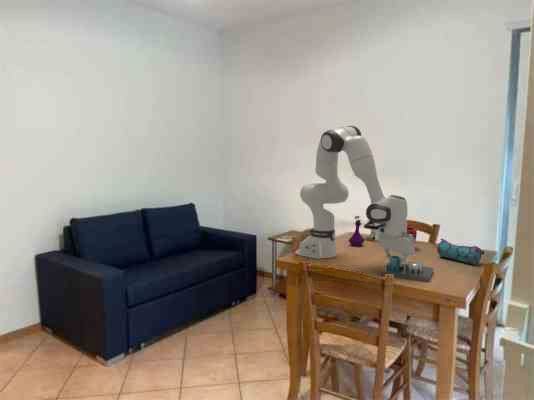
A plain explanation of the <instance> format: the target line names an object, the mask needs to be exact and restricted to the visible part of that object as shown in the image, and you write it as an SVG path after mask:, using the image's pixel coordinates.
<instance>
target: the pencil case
mask: <svg viewBox="0 0 534 400" xmlns="http://www.w3.org/2000/svg"><path fill="white" fill-rule="evenodd" d="M439 240H440V242H439V243H438V244H437V247H436V250H437V254H438V256H440V257H443V258H445V259H446V258H447V259H450V260H455V261H458V262H462V263H465V264H468V265H474V266H478V264H479V263H480V262H481V259H482V255H485V251H484V250H482V249H481V247H479V246H478V245H477V246H476V245H471V246H470V245H457V244H454V243H451V242H449V241H447V240H446V239H444V238H440V239H439Z"/></svg>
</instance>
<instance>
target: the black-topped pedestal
mask: <svg viewBox="0 0 534 400" xmlns="http://www.w3.org/2000/svg"><path fill="white" fill-rule="evenodd" d="M385 226H386V223H383V222H381V223H374V222H371V221H370V220H369V219H368V220H367V222H366V223H365V224H364V225H363V229H368V230H370V235H369V238H370V240H371V239H374V241H375V242H378V236H379V233H380V232H379V228H380V227H385Z"/></svg>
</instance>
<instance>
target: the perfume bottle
mask: <svg viewBox="0 0 534 400" xmlns="http://www.w3.org/2000/svg"><path fill="white" fill-rule="evenodd" d="M354 219H355V223H354V226H355V231H354V233H353V234H352V236H350V238H349V239H348V243H350V245H351V246H352V247H361V246H363V244H364V242H365V238H364V237H363V236H362V235H361V233H360V227H361V225H362V223H361V222H362V220H361V219H360V215H354Z"/></svg>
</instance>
